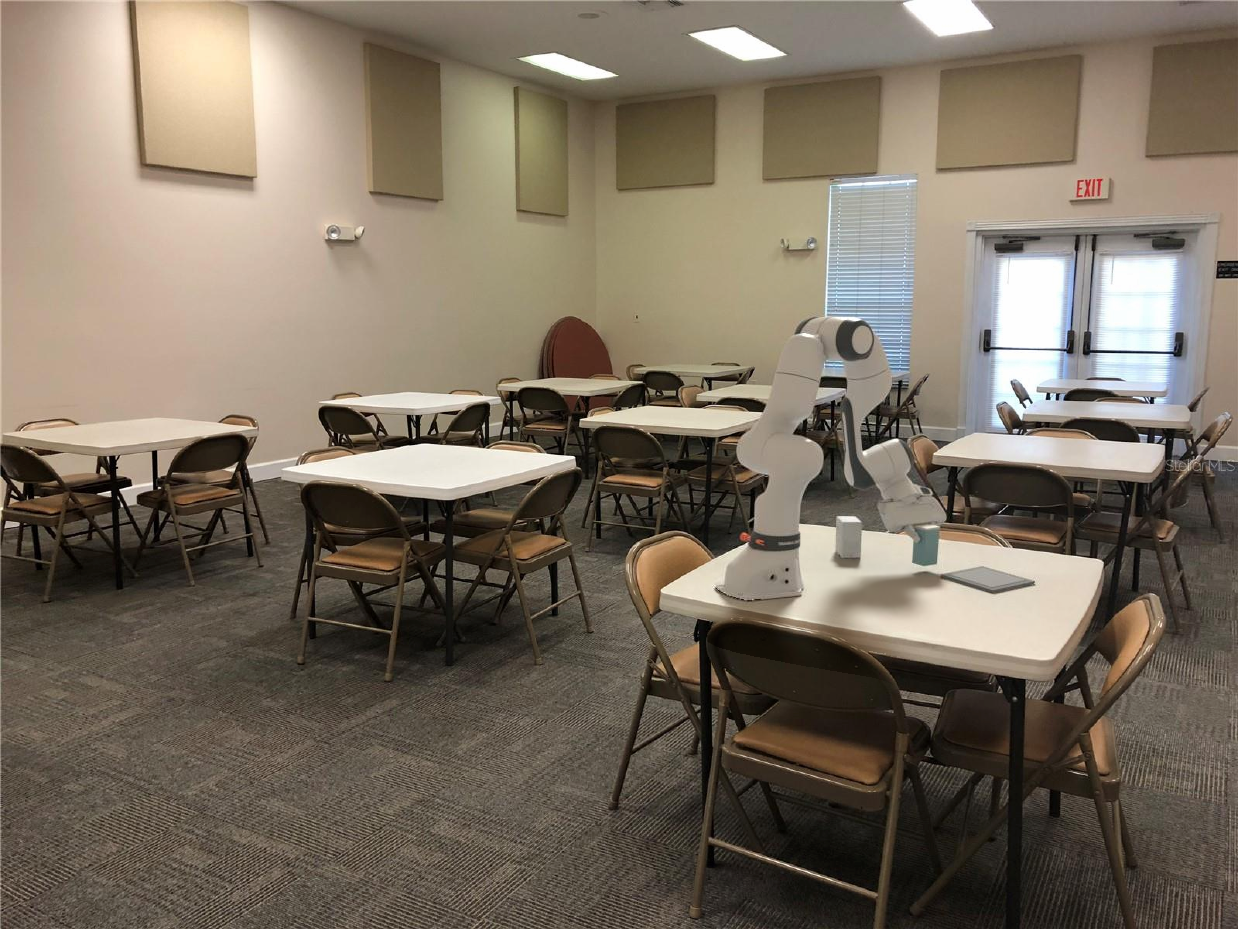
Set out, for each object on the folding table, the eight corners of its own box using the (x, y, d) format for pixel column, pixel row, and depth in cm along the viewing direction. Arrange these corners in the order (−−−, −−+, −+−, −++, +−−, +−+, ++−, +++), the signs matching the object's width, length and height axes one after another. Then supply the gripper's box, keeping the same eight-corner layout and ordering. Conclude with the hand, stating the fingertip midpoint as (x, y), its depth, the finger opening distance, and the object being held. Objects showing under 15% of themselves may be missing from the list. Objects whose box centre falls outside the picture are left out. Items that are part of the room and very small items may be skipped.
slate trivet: (992, 593, 221) (993, 589, 220) (940, 577, 234) (941, 573, 234) (1034, 584, 228) (1035, 580, 228) (982, 569, 242) (982, 565, 242)
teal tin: (923, 566, 236) (926, 528, 235) (911, 562, 240) (914, 525, 238) (937, 564, 239) (940, 526, 237) (925, 560, 242) (927, 523, 241)
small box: (860, 558, 253) (862, 522, 251) (841, 558, 253) (842, 522, 251) (854, 551, 261) (855, 515, 259) (834, 551, 261) (836, 515, 259)
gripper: (881, 494, 237) (907, 537, 230) (934, 488, 247) (961, 530, 241) (867, 507, 242) (892, 550, 235) (921, 501, 252) (946, 543, 245)
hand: (928, 540), depth 238 cm, fingers closed on teal tin, 5 cm apart
